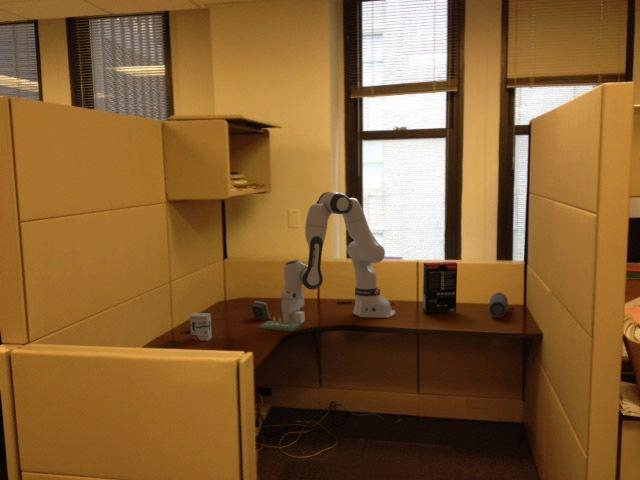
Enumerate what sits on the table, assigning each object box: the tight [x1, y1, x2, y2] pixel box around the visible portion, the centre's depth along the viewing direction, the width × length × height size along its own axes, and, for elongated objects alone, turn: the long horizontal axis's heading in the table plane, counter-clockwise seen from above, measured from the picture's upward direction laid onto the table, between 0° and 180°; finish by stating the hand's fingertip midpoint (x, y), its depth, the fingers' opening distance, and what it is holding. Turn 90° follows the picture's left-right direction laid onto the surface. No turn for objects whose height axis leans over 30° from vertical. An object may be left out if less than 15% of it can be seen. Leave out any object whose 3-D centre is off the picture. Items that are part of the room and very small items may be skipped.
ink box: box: [189, 312, 213, 342], centre depth 267 cm, size 8×5×12 cm, turn 81°
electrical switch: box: [251, 300, 271, 321], centre depth 302 cm, size 9×5×9 cm, turn 47°
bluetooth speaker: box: [488, 292, 509, 318], centre depth 300 cm, size 23×9×10 cm, turn 161°
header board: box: [258, 316, 302, 332], centre depth 284 cm, size 18×10×5 cm, turn 67°
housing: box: [282, 310, 306, 324], centre depth 295 cm, size 10×5×5 cm, turn 67°
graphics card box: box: [422, 261, 458, 315], centre depth 305 cm, size 17×7×27 cm, turn 98°
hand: (294, 318), depth 295 cm, fingers closed on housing, 5 cm apart
